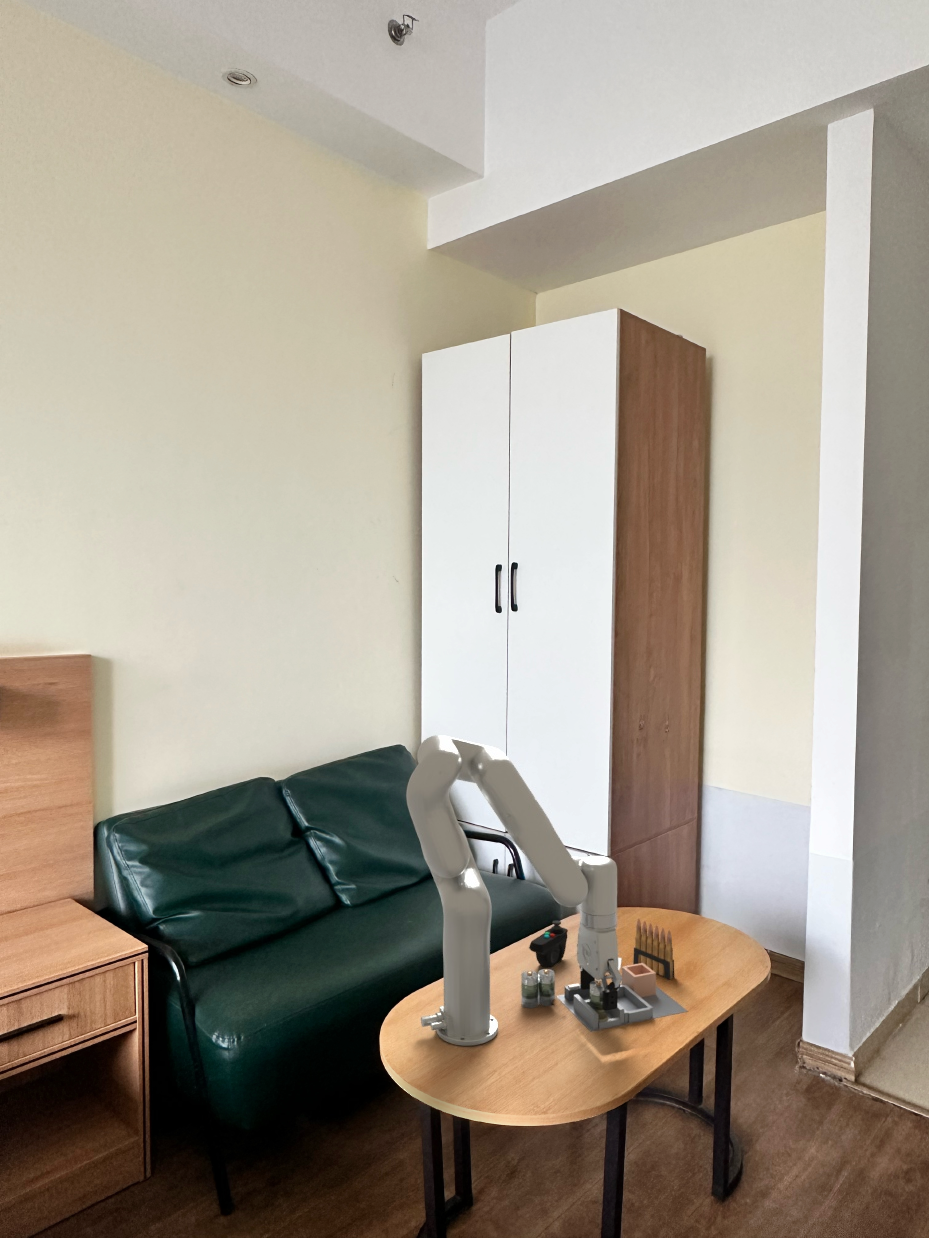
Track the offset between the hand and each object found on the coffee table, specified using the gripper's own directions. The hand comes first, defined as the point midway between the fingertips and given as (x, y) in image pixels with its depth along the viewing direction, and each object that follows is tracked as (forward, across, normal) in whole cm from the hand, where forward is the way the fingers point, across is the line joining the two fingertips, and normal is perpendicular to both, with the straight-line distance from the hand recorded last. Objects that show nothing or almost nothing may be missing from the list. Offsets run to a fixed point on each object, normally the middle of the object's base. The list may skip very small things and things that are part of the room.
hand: (598, 998), depth 185 cm
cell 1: (+5, -12, -10) cm, 16 cm away
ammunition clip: (+5, -14, +22) cm, 27 cm away
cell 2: (+5, -11, -7) cm, 14 cm away
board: (+5, -3, +7) cm, 9 cm away
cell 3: (+4, 0, 0) cm, 4 cm away
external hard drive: (+6, -19, +12) cm, 23 cm away
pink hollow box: (+4, -6, +14) cm, 15 cm away
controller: (+5, -26, +1) cm, 26 cm away
